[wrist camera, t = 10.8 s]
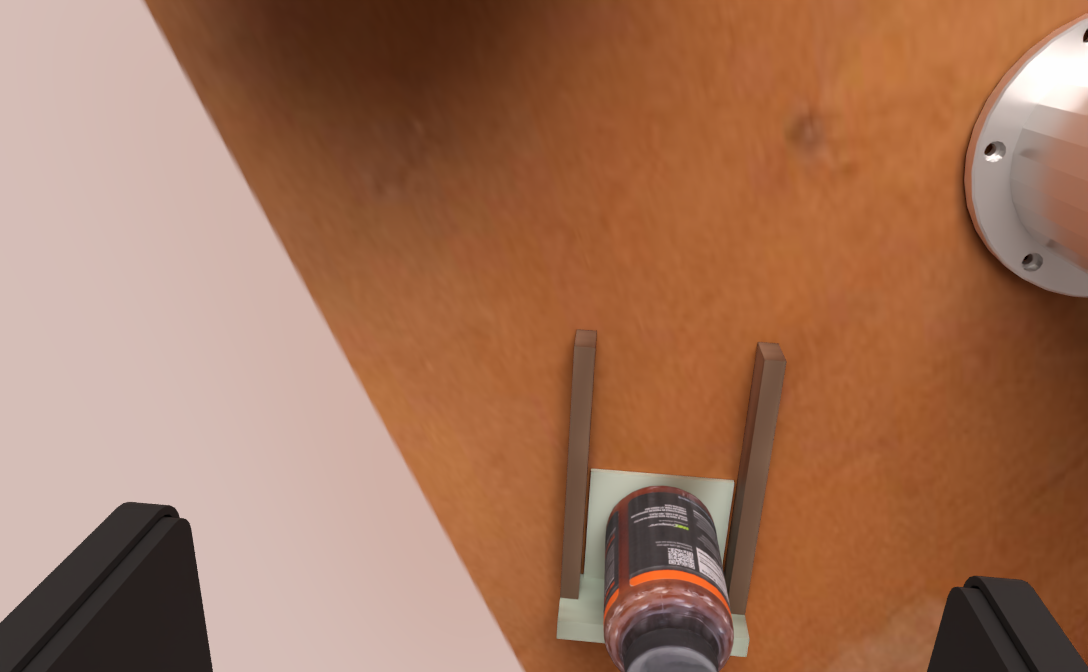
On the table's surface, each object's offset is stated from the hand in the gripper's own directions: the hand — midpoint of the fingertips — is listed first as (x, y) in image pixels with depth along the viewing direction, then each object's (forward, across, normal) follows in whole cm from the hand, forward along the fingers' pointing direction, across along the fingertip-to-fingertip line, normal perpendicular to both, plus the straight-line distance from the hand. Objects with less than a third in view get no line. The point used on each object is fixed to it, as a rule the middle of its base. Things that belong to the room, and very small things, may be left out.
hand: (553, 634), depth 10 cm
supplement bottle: (+30, -4, +19) cm, 36 cm away
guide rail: (+30, -4, +16) cm, 34 cm away
